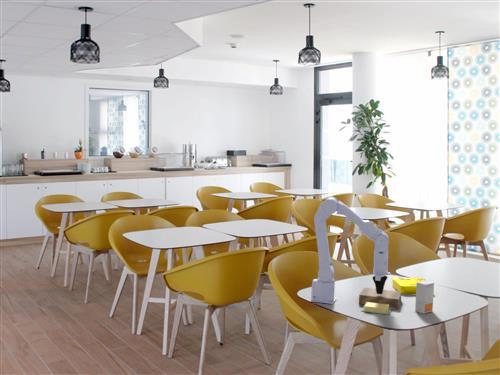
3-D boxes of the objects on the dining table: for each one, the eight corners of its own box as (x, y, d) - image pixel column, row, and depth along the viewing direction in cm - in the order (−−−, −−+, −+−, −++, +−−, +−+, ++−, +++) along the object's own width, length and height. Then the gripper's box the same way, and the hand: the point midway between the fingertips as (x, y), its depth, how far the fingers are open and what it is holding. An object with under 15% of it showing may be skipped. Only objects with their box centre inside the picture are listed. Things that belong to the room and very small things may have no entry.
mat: (361, 311, 222) (361, 310, 222) (364, 304, 230) (364, 304, 230) (389, 314, 218) (389, 313, 218) (391, 308, 226) (392, 307, 226)
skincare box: (423, 314, 219) (425, 284, 218) (414, 311, 223) (416, 282, 222) (433, 311, 223) (434, 282, 222) (424, 308, 226) (425, 280, 225)
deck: (358, 304, 231) (359, 294, 231) (363, 296, 242) (363, 287, 242) (398, 308, 225) (398, 299, 225) (401, 300, 237) (401, 291, 236)
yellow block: (366, 301, 227) (366, 306, 227) (364, 306, 221) (364, 310, 221) (389, 304, 223) (388, 309, 224) (387, 308, 218) (387, 313, 218)
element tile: (400, 295, 247) (401, 284, 246) (391, 286, 261) (391, 276, 261) (433, 295, 247) (434, 285, 247) (422, 286, 262) (423, 276, 261)
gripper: (388, 266, 220) (387, 299, 221) (392, 258, 234) (391, 290, 235) (370, 264, 223) (369, 297, 224) (375, 257, 236) (374, 288, 237)
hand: (379, 293), depth 230 cm, fingers closed
